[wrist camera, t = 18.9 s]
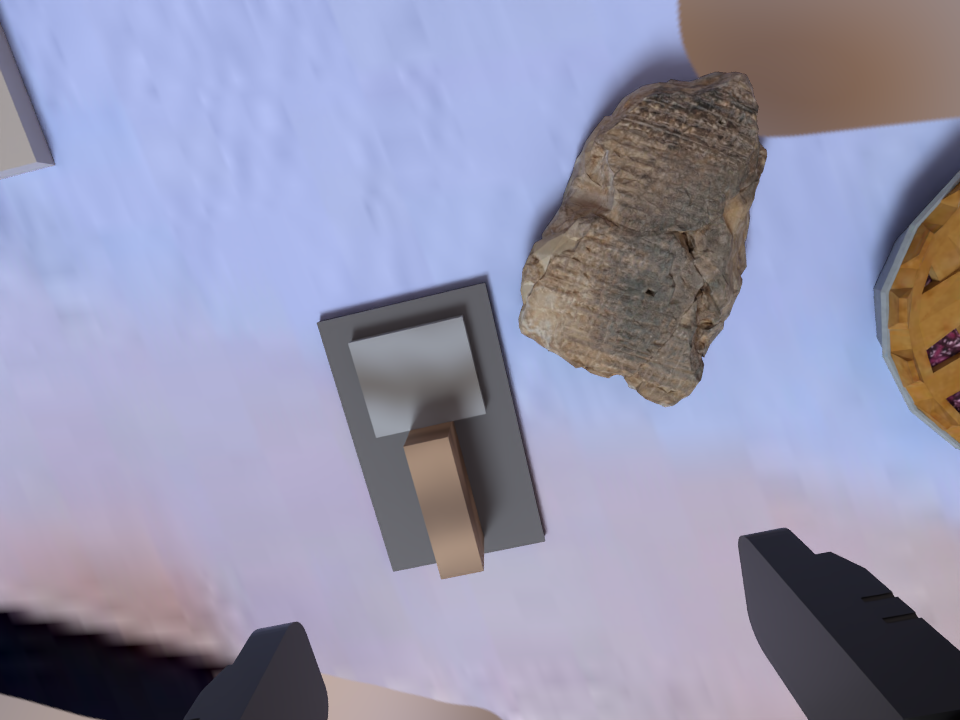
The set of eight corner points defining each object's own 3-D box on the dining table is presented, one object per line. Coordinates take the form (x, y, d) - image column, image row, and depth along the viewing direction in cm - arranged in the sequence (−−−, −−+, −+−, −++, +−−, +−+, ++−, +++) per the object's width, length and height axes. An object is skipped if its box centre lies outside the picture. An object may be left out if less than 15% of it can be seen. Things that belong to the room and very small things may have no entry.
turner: (351, 340, 36) (335, 352, 32) (462, 314, 36) (459, 323, 32) (414, 552, 40) (406, 586, 36) (516, 531, 39) (519, 564, 36)
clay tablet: (614, 41, 33) (492, 331, 37) (639, 6, 28) (495, 344, 32) (808, 132, 34) (669, 403, 38) (862, 114, 29) (698, 426, 33)
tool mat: (319, 321, 37) (316, 322, 36) (485, 282, 36) (485, 283, 35) (394, 566, 41) (393, 571, 40) (544, 536, 40) (545, 541, 40)
